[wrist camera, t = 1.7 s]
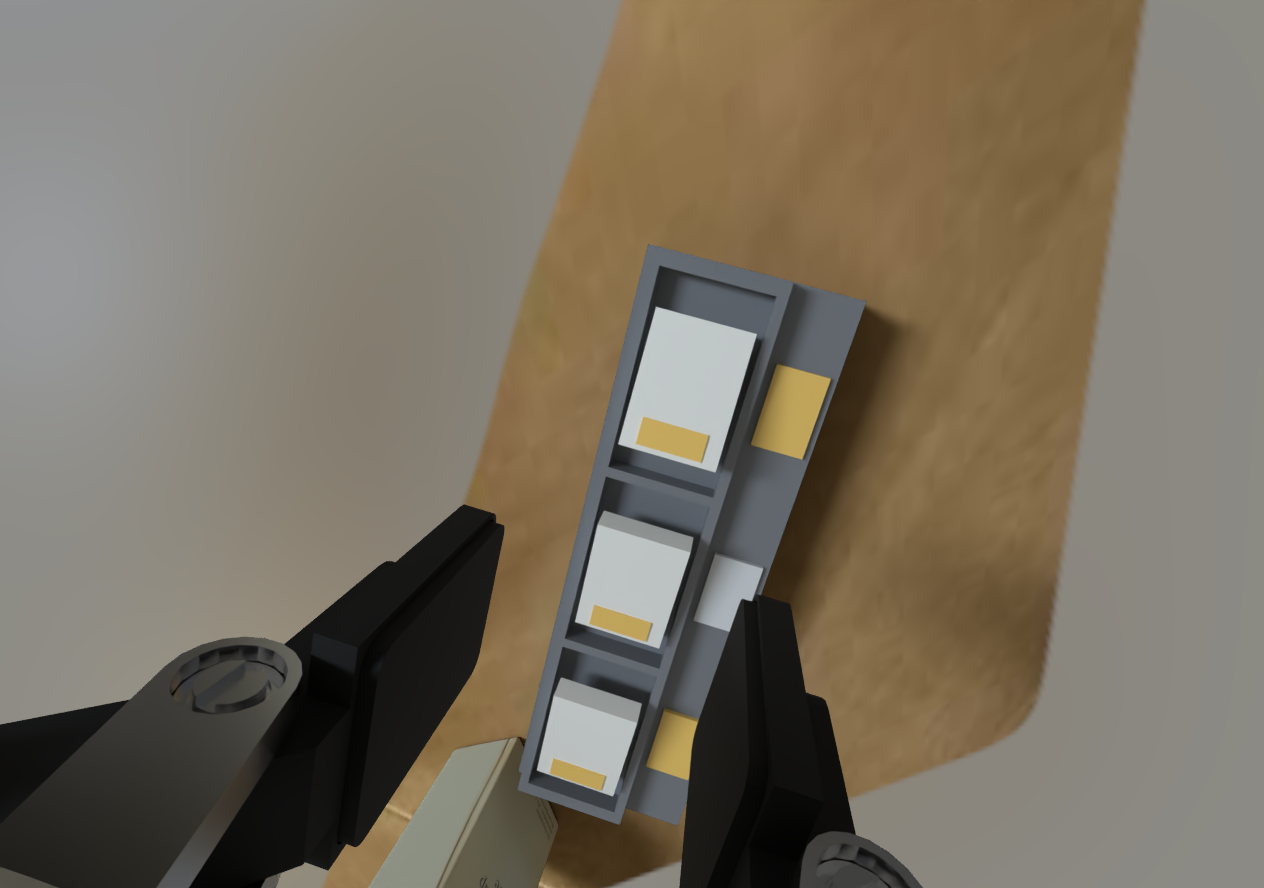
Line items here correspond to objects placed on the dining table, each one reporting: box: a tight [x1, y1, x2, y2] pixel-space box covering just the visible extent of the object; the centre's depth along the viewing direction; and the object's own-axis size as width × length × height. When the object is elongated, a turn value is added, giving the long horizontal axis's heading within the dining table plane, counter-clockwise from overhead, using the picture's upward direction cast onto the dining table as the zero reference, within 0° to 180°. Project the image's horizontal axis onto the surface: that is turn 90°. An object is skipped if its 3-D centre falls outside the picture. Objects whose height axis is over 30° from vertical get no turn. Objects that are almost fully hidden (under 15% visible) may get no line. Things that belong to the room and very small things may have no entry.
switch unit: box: [518, 244, 866, 826], centre depth 26 cm, size 25×8×4 cm, turn 166°
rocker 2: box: [575, 511, 693, 648], centre depth 24 cm, size 5×4×1 cm
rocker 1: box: [618, 307, 757, 473], centre depth 22 cm, size 5×4×1 cm
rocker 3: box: [537, 677, 642, 796], centre depth 27 cm, size 5×4×1 cm
